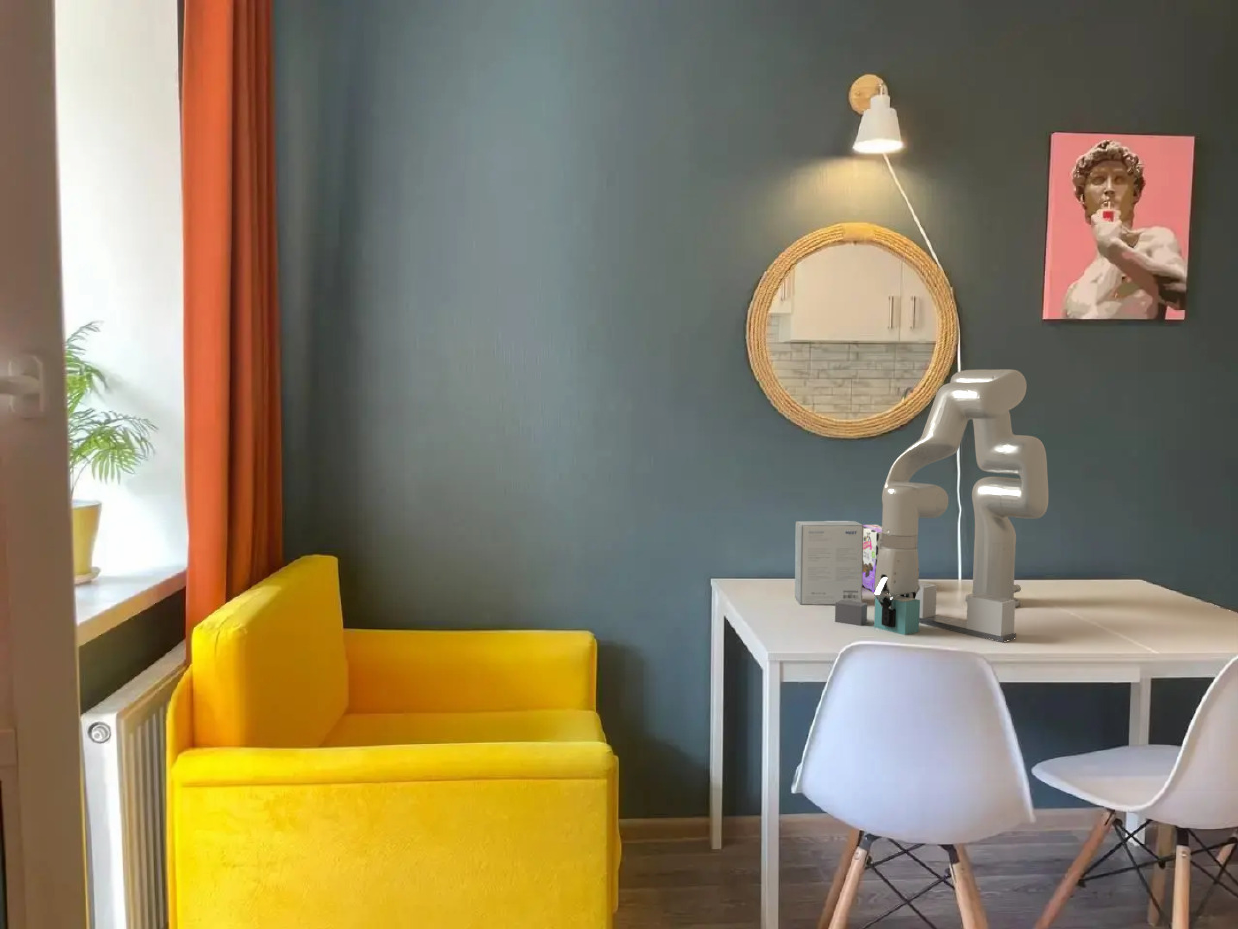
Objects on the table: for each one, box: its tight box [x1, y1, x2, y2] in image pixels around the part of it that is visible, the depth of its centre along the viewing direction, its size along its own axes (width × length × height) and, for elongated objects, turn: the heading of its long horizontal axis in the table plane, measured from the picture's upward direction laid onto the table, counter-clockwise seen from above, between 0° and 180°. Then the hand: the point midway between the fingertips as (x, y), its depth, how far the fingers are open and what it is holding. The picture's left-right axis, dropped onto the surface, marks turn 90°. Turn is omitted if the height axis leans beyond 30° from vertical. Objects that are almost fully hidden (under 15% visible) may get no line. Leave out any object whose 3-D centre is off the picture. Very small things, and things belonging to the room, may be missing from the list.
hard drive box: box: [794, 520, 864, 606], centre depth 227 cm, size 16×8×20 cm, turn 90°
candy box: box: [862, 524, 889, 594], centre depth 244 cm, size 14×6×16 cm, turn 6°
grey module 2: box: [966, 594, 1016, 636], centre depth 195 cm, size 8×5×7 cm, turn 37°
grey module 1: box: [915, 581, 938, 618], centre depth 210 cm, size 8×5×7 cm, turn 37°
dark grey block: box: [834, 600, 868, 627], centre depth 206 cm, size 4×6×4 cm, turn 57°
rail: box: [919, 615, 1017, 643], centre depth 203 cm, size 28×5×1 cm, turn 37°
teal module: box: [873, 595, 920, 636], centre depth 200 cm, size 5×8×7 cm, turn 37°
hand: (896, 623), depth 200 cm, fingers closed on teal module, 5 cm apart
